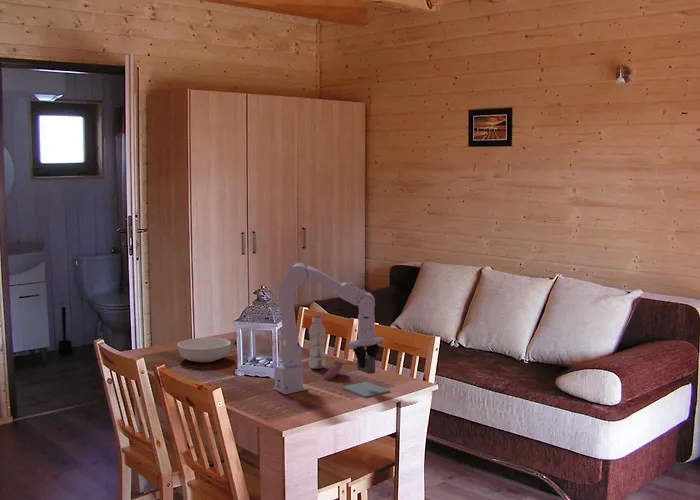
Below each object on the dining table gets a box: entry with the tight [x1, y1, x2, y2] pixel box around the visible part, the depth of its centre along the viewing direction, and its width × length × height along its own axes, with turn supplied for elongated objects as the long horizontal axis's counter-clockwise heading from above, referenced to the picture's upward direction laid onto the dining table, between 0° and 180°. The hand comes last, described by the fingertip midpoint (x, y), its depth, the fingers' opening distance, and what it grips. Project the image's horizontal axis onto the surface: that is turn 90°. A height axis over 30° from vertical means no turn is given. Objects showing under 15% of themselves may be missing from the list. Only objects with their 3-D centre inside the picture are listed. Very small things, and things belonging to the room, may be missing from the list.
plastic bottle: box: [308, 315, 327, 370], centre depth 295 cm, size 6×7×20 cm
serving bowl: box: [177, 337, 232, 364], centre depth 308 cm, size 21×21×7 cm
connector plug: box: [352, 354, 376, 375], centre depth 268 cm, size 3×11×5 cm, turn 37°
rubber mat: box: [341, 381, 391, 398], centre depth 268 cm, size 11×13×1 cm
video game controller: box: [322, 360, 344, 381], centre depth 285 cm, size 10×5×7 cm, turn 169°
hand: (366, 366), depth 267 cm, fingers closed on connector plug, 3 cm apart
